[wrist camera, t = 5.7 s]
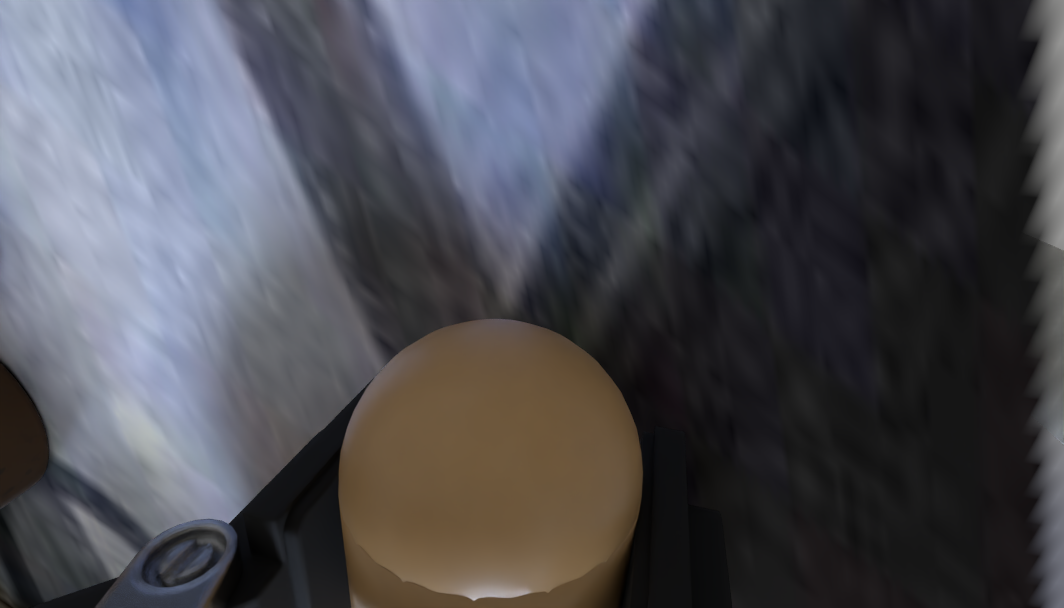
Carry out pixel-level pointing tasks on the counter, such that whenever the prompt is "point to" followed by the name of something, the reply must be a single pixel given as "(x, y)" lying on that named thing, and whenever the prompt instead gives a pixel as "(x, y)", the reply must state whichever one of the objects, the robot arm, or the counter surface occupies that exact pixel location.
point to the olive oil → (19, 440)
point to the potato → (490, 475)
